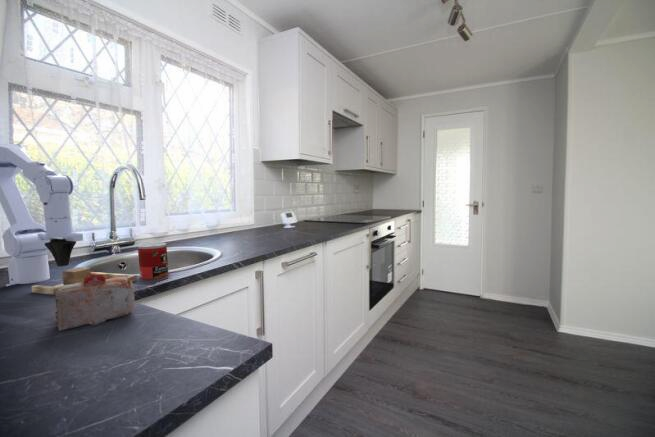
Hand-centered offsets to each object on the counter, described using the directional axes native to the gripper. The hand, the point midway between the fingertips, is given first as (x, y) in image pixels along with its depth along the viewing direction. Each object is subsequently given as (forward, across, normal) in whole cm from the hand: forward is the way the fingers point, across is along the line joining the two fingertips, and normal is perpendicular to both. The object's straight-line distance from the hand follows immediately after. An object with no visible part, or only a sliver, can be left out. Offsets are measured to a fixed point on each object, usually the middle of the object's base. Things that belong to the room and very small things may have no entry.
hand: (63, 265), depth 91 cm
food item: (+7, +31, -15) cm, 35 cm away
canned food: (+7, +19, +13) cm, 24 cm away
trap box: (+7, +8, 0) cm, 10 cm away
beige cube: (+5, +5, 0) cm, 7 cm away
